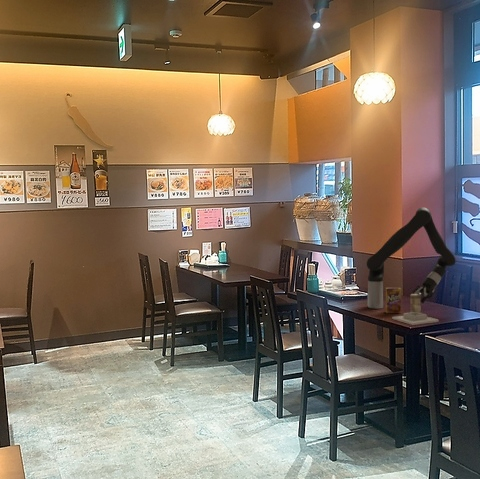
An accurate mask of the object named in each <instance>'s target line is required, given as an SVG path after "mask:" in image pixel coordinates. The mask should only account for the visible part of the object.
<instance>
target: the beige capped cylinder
mask: <svg viewBox="0 0 480 479" xmlns="http://www.w3.org/2000/svg"><path fill="white" fill-rule="evenodd" d="M421 295H422V294H421ZM421 295H419V294H418V293H417V294H413V293H411V294H410V297H409V298H410V302H409V303H410V309H409V311H410V312H419V313H422V312H421V311H422V308H421V306H422V305H421V304H422V303H421V302H420V301H421V299H422V296H421ZM410 312H409V313H410Z"/></svg>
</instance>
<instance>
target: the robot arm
mask: <svg viewBox="0 0 480 479" xmlns="http://www.w3.org/2000/svg"><path fill="white" fill-rule="evenodd" d="M422 228H424V230H425V232H426V234H427V236H428V239H429V242H430V243H431V246H432V248H433V249H434V251H435V253H436V254H438V255H440V257H439V258H438V259H437V262H436V264H435V266H434V268H433V269H432V271H431V272H430V273H429V274H428V275H427V276H426V278H424V281H422V285H421V286H420V285H417V286H415V288H414V290H412V293H411V294H419V295H423V297H421V301H420V302H421V304H424V303H425V302H426V301H427V300H428V299H431V298H432V297H433V295H434V294H435V293H436V290H435V289H436V287H437V286H438V285H439V283H440V281H441V279H443V278H444V275H445V274H446V268H447V267H452V266H455V264H456V262H457V261H456V260H457V259H456V257H455V255H454V253H453V252H452V251H451V250H450V249H449V248H448V247H447V245H446V243H445V240H444V239H443V237H442V235H441V234H440V232H439V231H438V229H437V226H436V225H435V222H434V220H433V217H432V213H431V210H429V209H428V208H426V207H419V208H418V209H417V210H416V211H415V214H414V216H412V218H411V219H410V220H409V221H408V222H407V223H406V224H405V225H403V226H402V227H401V228H399V229H398V230H396V232H394V233H393V234H392V235H391V236H390V237H389V239H387V241H386V242H385V243H384V244H383V246H381V248H380V249H378V250H377V252H375V253H374V254H373V255H372V256H369V258H368V259H367V261H366V267H367V268H368V270H369V271H368V272H369V273H368V277H367V295H366V296H367V307H368V308H369V309H383V308H384V285H383V284H384V275H385V273H384V272H385V270H384V269H385V262H386V261H387V260H388V258H390V257H391V256H393V255H395V253H397V252H398V251H400V250H401V249H402V248H403V247H404V246H405V245H406V244H407V243H408V242H409V241H410V240H411V239H412V237H414V235H415V234H416V233H417V232H418V231H419V230H421V229H422Z"/></svg>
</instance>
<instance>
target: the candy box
mask: <svg viewBox="0 0 480 479" xmlns="http://www.w3.org/2000/svg"><path fill="white" fill-rule="evenodd" d="M401 299H402V288H401V287H385V309H384V310H385V314H386V313H387V314H389V313H390V314H401V313H402V312H401V311H402V306H401V305H402V300H401Z"/></svg>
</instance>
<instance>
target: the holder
mask: <svg viewBox="0 0 480 479" xmlns="http://www.w3.org/2000/svg"><path fill="white" fill-rule="evenodd" d="M391 319H392V320H394V321H398V322H400V323H405V324H407V325H411V326H418V325H425V324H432V323H439V319H437V318H433V317H430V316H428V315H427V314H426V313H422V312H421V313H419V312H404V313H403V315H398V316H397V315H396V316H392V317H391Z"/></svg>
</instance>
